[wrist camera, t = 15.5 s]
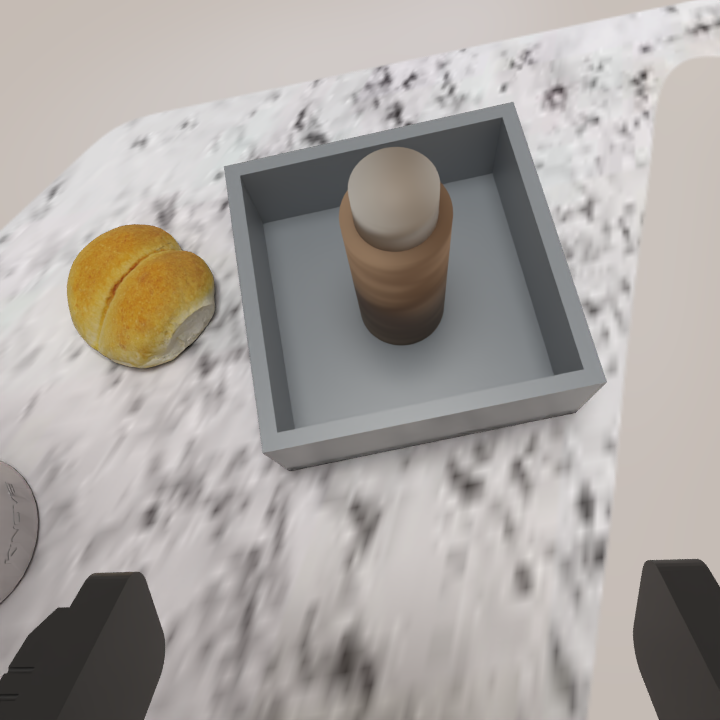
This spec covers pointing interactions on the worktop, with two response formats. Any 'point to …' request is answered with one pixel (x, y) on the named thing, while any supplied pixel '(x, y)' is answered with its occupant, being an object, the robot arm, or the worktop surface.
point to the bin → (461, 307)
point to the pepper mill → (397, 243)
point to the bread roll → (139, 296)
